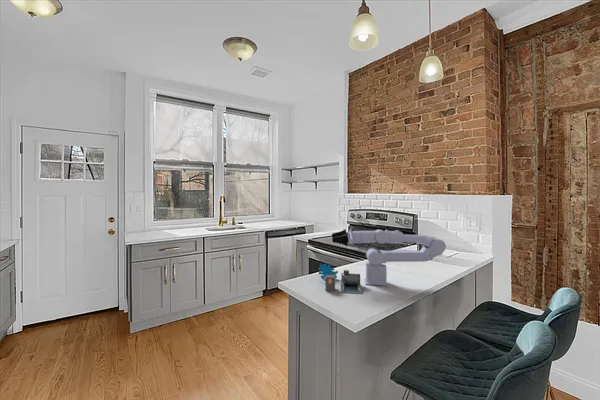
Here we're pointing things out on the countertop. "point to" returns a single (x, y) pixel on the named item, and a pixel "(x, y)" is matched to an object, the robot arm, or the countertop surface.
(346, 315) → the countertop surface
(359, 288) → the motor mount
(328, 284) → the grey knobbed block
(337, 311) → the countertop surface
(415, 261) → the robot arm
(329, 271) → the gear
